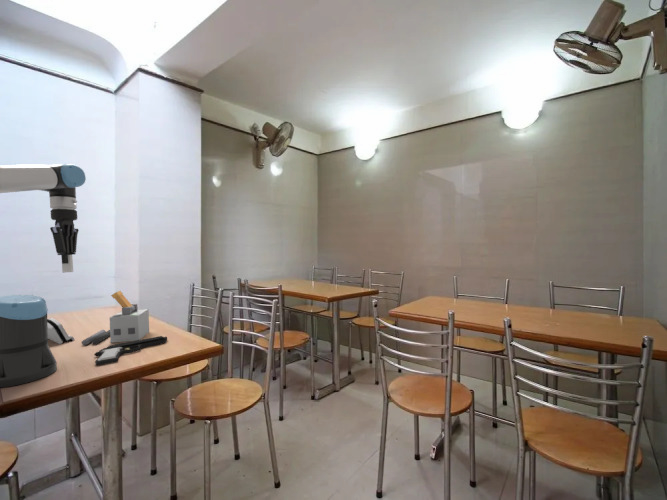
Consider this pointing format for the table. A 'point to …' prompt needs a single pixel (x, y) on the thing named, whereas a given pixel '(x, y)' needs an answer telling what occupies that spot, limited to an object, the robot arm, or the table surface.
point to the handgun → (126, 349)
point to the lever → (122, 300)
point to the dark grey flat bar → (96, 337)
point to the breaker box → (129, 325)
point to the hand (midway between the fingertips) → (67, 272)
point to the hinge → (57, 331)
